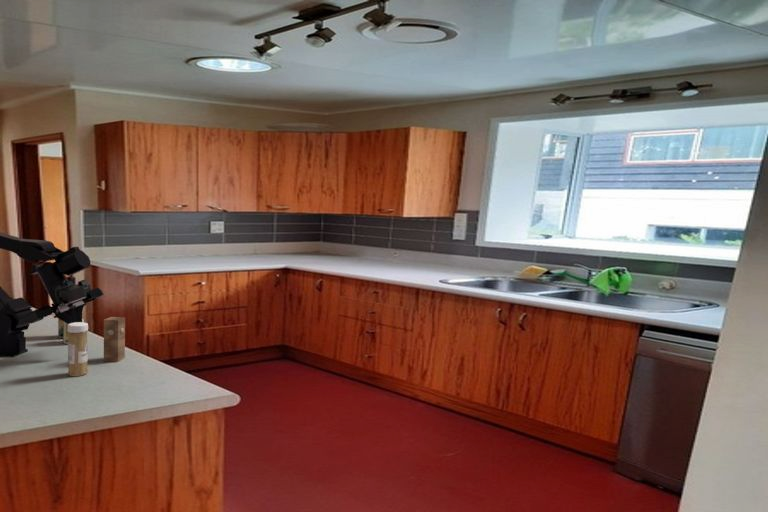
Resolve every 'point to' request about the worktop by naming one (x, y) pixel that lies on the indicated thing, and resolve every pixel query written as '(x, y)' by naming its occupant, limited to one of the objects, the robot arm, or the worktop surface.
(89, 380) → the worktop surface
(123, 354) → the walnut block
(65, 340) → the supplement bottle
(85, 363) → the sprinkles bottle
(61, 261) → the robot arm
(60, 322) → the lotion bottle
